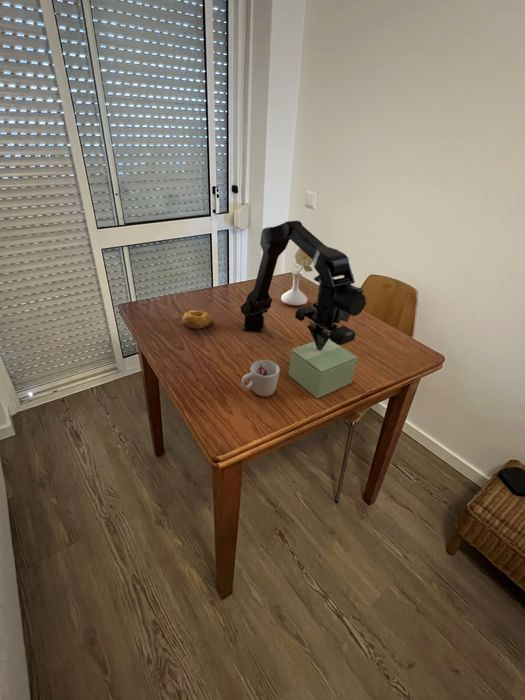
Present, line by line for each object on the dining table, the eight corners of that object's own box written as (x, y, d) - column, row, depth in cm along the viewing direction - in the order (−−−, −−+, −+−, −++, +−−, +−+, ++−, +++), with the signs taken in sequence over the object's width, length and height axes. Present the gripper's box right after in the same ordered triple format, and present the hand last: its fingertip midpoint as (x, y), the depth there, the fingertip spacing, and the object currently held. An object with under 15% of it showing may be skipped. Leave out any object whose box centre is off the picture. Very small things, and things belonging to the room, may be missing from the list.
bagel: (215, 326, 130) (215, 315, 127) (186, 332, 126) (185, 320, 123) (207, 315, 137) (206, 304, 135) (179, 320, 133) (178, 308, 130)
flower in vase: (275, 303, 151) (280, 244, 137) (289, 295, 159) (295, 239, 145) (302, 312, 145) (309, 251, 131) (314, 303, 153) (323, 245, 139)
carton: (288, 374, 107) (291, 349, 102) (322, 361, 114) (326, 337, 109) (317, 398, 98) (321, 371, 93) (351, 382, 105) (357, 357, 100)
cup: (246, 405, 94) (247, 381, 90) (236, 387, 100) (236, 364, 96) (282, 396, 98) (284, 373, 94) (270, 379, 104) (272, 357, 100)
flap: (291, 350, 102) (291, 349, 102) (326, 338, 109) (326, 337, 109) (305, 360, 98) (305, 359, 98) (340, 347, 105) (341, 346, 105)
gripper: (374, 307, 92) (362, 357, 100) (325, 284, 104) (318, 329, 113) (344, 317, 86) (334, 368, 95) (296, 290, 99) (291, 338, 107)
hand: (319, 349), depth 102 cm, fingers closed, pressing on flap
